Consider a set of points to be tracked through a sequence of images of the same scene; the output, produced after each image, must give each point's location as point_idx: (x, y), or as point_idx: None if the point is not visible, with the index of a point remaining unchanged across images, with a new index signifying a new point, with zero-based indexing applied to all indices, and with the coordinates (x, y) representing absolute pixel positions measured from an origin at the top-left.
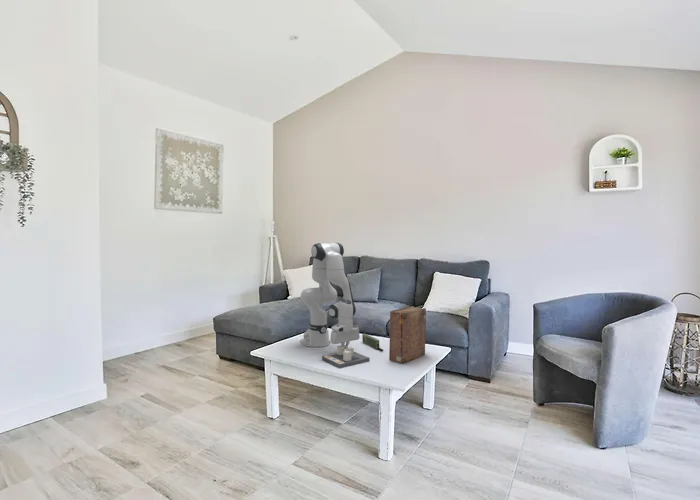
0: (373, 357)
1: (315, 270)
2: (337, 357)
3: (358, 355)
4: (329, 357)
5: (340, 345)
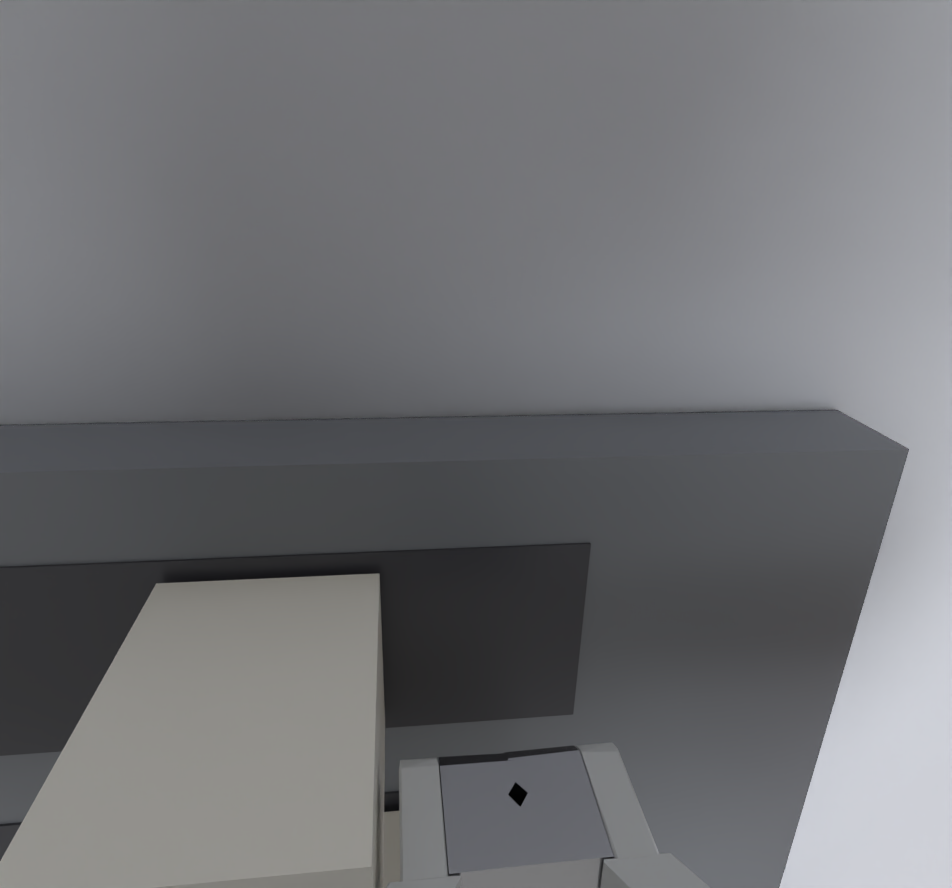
0: (938, 854)
1: None
2: None
3: None
4: None
5: (282, 879)
